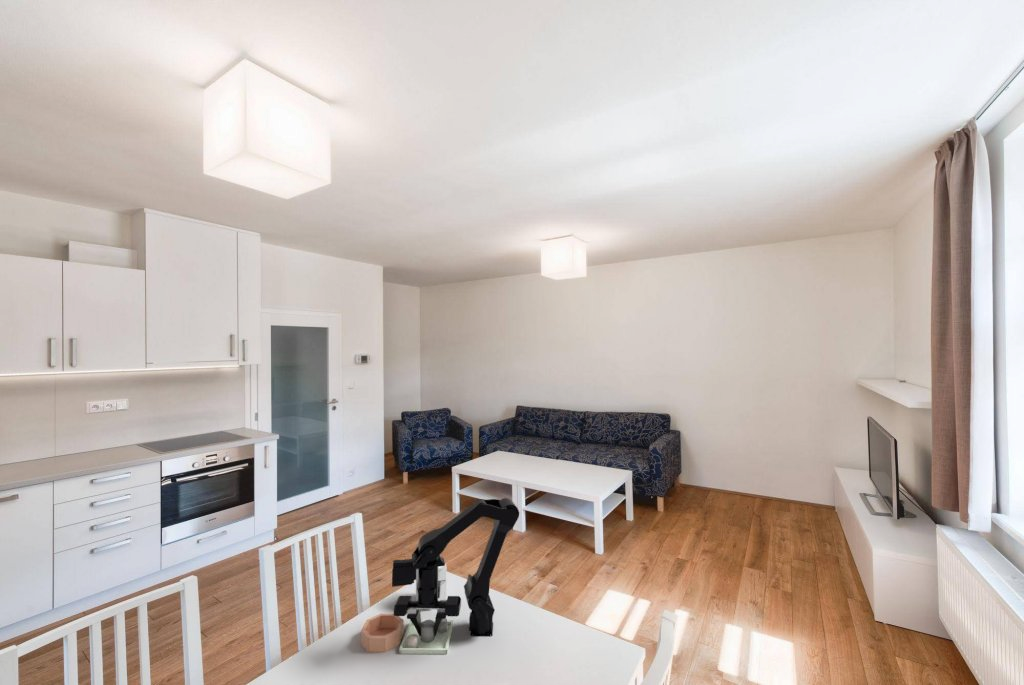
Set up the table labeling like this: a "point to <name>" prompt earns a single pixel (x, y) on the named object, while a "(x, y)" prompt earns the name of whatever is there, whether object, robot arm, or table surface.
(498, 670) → the table surface
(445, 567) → the supplement box
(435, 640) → the tray
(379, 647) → the bowl
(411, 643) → the pebble
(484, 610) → the robot arm
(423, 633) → the grey rounded cylinder
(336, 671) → the table surface
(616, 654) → the table surface
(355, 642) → the table surface
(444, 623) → the pebble
